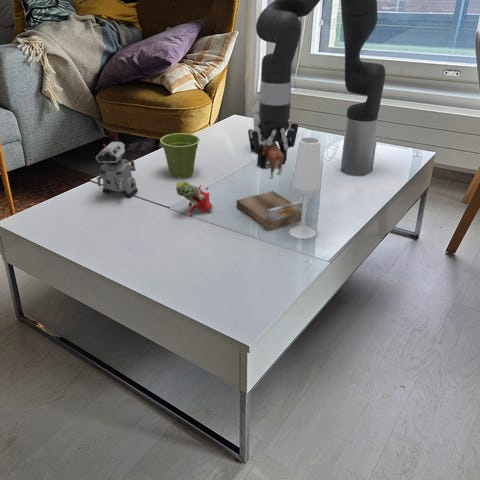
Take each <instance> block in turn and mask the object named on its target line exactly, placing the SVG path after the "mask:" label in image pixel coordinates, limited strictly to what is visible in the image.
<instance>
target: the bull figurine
mask: <svg viewBox="0 0 480 480" xmlns="http://www.w3.org/2000/svg"><path fill="white" fill-rule="evenodd" d="M265 155H266V167H267V161H268V162H269V163H270V164H271V167H270V175H269V177H268V179H269V180H270V179H271V180H272V179H274V172H275V170H277V169H278V171H277V173H276V175H277V176H281V175H282V173H283V172H282V171H283V166H282V163H283V162H284V155H283V154H282V152H281V150H280V147H279V145H278V143H277V141H273V142H271V145H270V147H268V149H267V152H266V154H265Z"/></svg>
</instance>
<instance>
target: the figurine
mask: <svg viewBox="0 0 480 480" xmlns="http://www.w3.org/2000/svg"><path fill="white" fill-rule="evenodd" d="M103 147H104V148H103V149H101V151H99V153H98V154H97V155H96V156H95V161H97V163H103V164H102V165H101V166H100V168H99V169H100V174H99V175H98V177H96V180H97V186H99V189H101V181H102V192H103V193H106V194H107V193H109V192H110V191H114V192H119V193H120V192H123V191H126V192H125V197H126V198H130V199H131V198H132V197H133V196H135V195H136V194H137V193H138V191H139V190H138V188H137V184H136V183H137V182H136V179H135V178H134V177H133V174H132V172H135V171H136V166H135V162H134V159H132V158H130V157H128V158H127V159H125V158H124V159H123V157H124V156H125V154H126V149H125V147H126V145H125V143H123V142H121V141H111V142H110V143H109V144H108V145H106V144H105V143H104V144H103ZM129 161H130V162H129ZM101 179H102V180H101Z"/></svg>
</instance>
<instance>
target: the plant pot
mask: <svg viewBox="0 0 480 480" xmlns="http://www.w3.org/2000/svg"><path fill="white" fill-rule="evenodd" d="M200 141H201V139H200V137H198V136H197V135H196V134H192V133H185V132H184V133H183V132H182V133H181V132H179V133H171V134H166V135H164V136H162V137H160V139H159V142H160V143H161V144H162V148H163V151H164V154H165V159H166V164H167V168H168V172H169V175H170V176H171V177H172V178H174V179H178V178H181V179H187V178H190V177H192V176H193V174H194V169H195V162H196V157H197V156H196V155H197V149H198V146H199V143H200Z"/></svg>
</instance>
